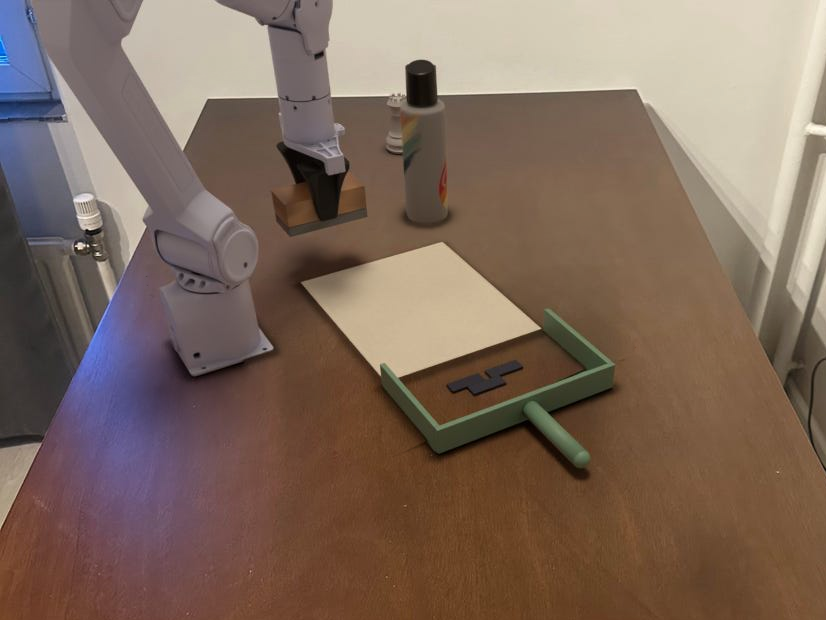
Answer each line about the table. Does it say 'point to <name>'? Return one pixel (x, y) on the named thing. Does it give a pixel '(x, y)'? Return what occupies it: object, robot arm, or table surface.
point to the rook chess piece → (395, 124)
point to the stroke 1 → (464, 383)
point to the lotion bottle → (424, 145)
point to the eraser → (300, 212)
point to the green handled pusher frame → (518, 400)
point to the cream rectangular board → (418, 309)
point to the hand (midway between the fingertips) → (320, 210)
